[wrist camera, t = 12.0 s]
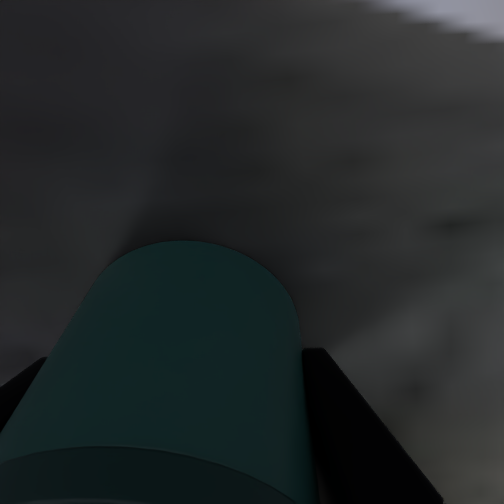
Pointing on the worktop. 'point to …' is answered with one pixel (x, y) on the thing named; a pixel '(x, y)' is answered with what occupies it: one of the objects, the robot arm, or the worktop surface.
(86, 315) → the tea tin
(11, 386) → the robot arm
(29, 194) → the worktop surface
